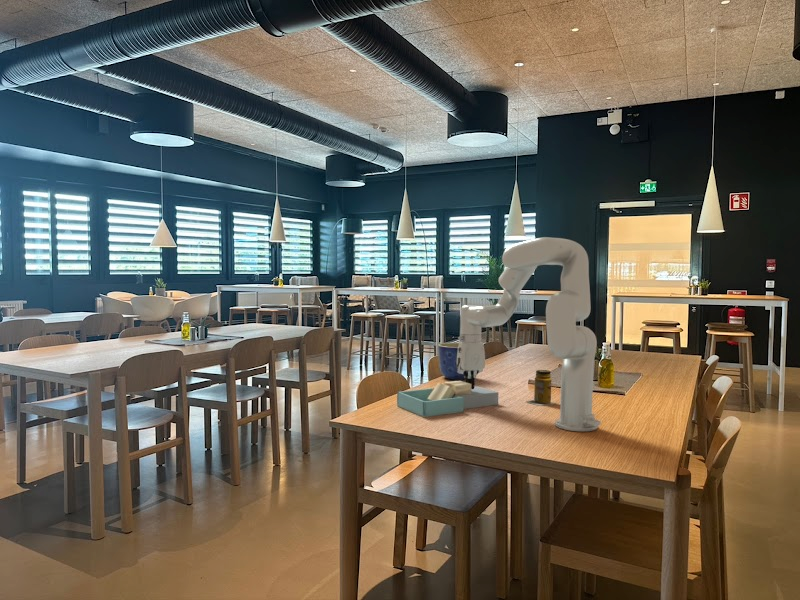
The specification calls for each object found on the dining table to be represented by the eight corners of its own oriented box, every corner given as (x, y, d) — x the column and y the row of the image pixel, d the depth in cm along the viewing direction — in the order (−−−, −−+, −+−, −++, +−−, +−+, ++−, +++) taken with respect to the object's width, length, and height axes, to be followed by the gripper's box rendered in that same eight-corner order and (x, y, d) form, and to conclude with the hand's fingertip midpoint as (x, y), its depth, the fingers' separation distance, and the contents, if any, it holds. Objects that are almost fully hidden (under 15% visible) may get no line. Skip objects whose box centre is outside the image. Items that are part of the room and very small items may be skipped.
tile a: (471, 393, 203) (471, 383, 203) (455, 395, 200) (455, 385, 199) (459, 390, 209) (459, 380, 209) (444, 391, 206) (444, 382, 205)
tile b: (455, 391, 200) (449, 386, 198) (444, 408, 197) (438, 402, 196) (443, 388, 206) (437, 382, 204) (433, 404, 203) (427, 398, 202)
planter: (435, 380, 251) (436, 346, 250) (439, 374, 268) (440, 342, 267) (474, 382, 248) (475, 347, 248) (475, 375, 265) (476, 343, 264)
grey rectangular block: (498, 404, 206) (498, 392, 206) (458, 409, 197) (458, 397, 197) (477, 398, 217) (478, 386, 216) (438, 402, 208) (439, 390, 208)
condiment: (555, 403, 209) (556, 371, 209) (540, 406, 205) (540, 373, 204) (541, 399, 215) (541, 368, 215) (525, 402, 211) (525, 370, 210)
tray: (463, 411, 195) (463, 397, 195) (423, 417, 187) (424, 402, 187) (434, 401, 210) (434, 387, 210) (397, 405, 202) (397, 392, 202)
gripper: (460, 340, 199) (459, 392, 200) (493, 339, 207) (492, 388, 208) (448, 338, 206) (447, 388, 207) (480, 336, 213) (479, 385, 214)
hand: (469, 388), depth 207 cm, fingers closed
